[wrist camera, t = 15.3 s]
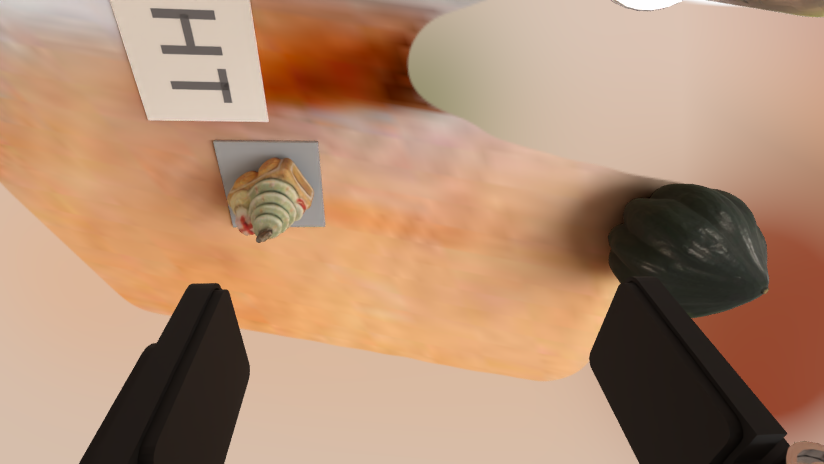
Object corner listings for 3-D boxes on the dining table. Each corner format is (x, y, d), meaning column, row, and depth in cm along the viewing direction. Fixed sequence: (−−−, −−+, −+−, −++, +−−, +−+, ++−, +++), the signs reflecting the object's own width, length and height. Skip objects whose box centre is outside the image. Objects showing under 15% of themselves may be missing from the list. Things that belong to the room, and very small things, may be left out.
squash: (574, 299, 50) (717, 374, 41) (613, 184, 42) (801, 248, 33) (619, 253, 59) (745, 307, 50) (659, 152, 51) (816, 196, 42)
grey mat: (317, 141, 42) (317, 142, 42) (325, 224, 48) (325, 226, 47) (214, 140, 41) (213, 141, 41) (234, 225, 47) (233, 227, 46)
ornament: (265, 224, 47) (242, 284, 38) (224, 183, 43) (189, 239, 35) (323, 189, 45) (312, 245, 36) (284, 144, 41) (262, 193, 33)
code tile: (248, -10, 34) (247, -10, 34) (268, 121, 40) (268, 122, 40) (105, -16, 33) (104, -16, 33) (149, 119, 40) (147, 120, 39)
